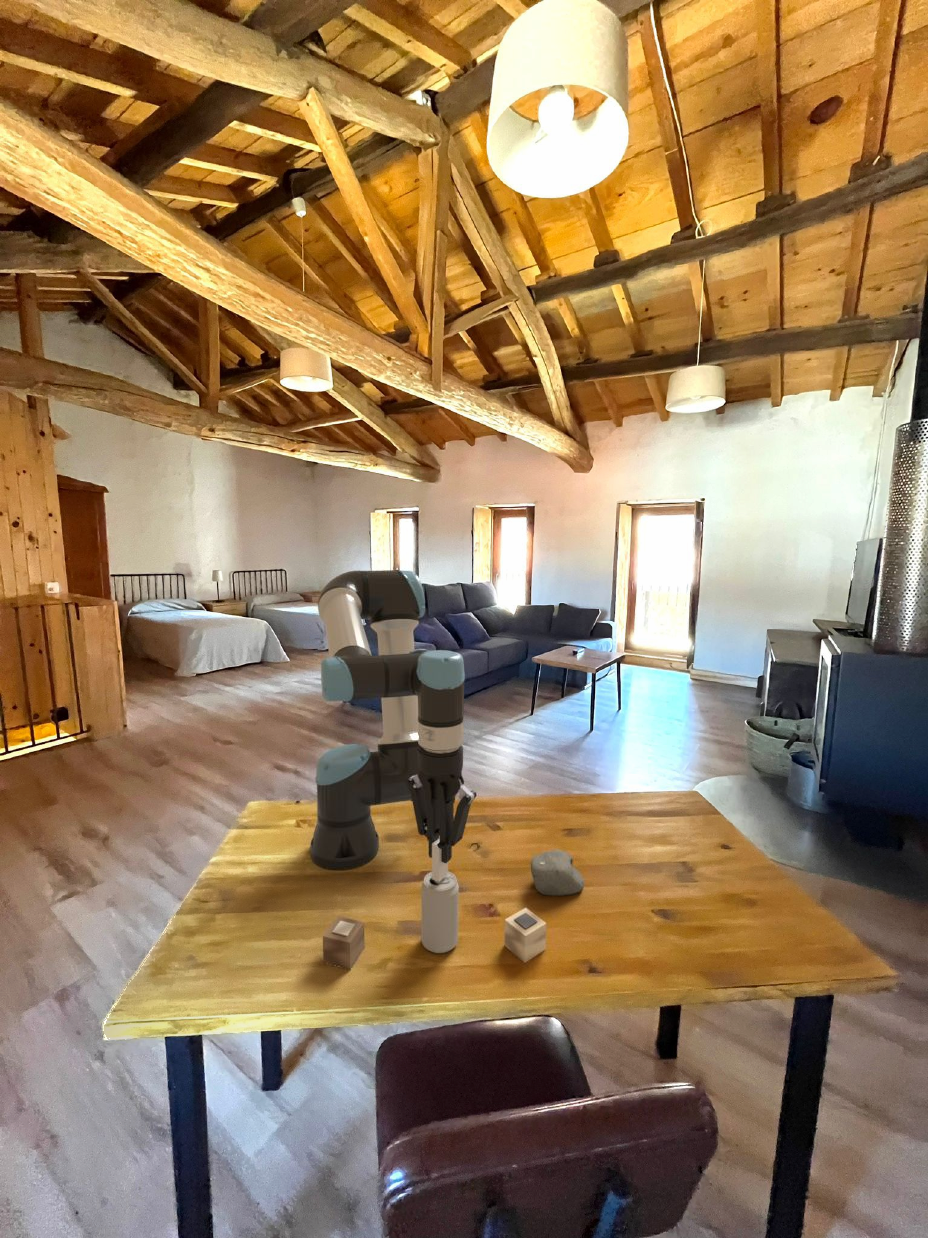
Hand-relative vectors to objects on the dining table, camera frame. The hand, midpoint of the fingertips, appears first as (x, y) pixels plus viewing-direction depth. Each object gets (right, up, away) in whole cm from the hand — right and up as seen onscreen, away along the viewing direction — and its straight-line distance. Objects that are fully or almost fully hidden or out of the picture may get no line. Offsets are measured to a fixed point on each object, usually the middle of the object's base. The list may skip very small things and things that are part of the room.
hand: (439, 876), depth 93 cm
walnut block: (-16, -13, -1) cm, 21 cm away
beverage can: (0, -13, +2) cm, 13 cm away
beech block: (+15, -13, +1) cm, 19 cm away
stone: (+23, -11, +18) cm, 31 cm away
